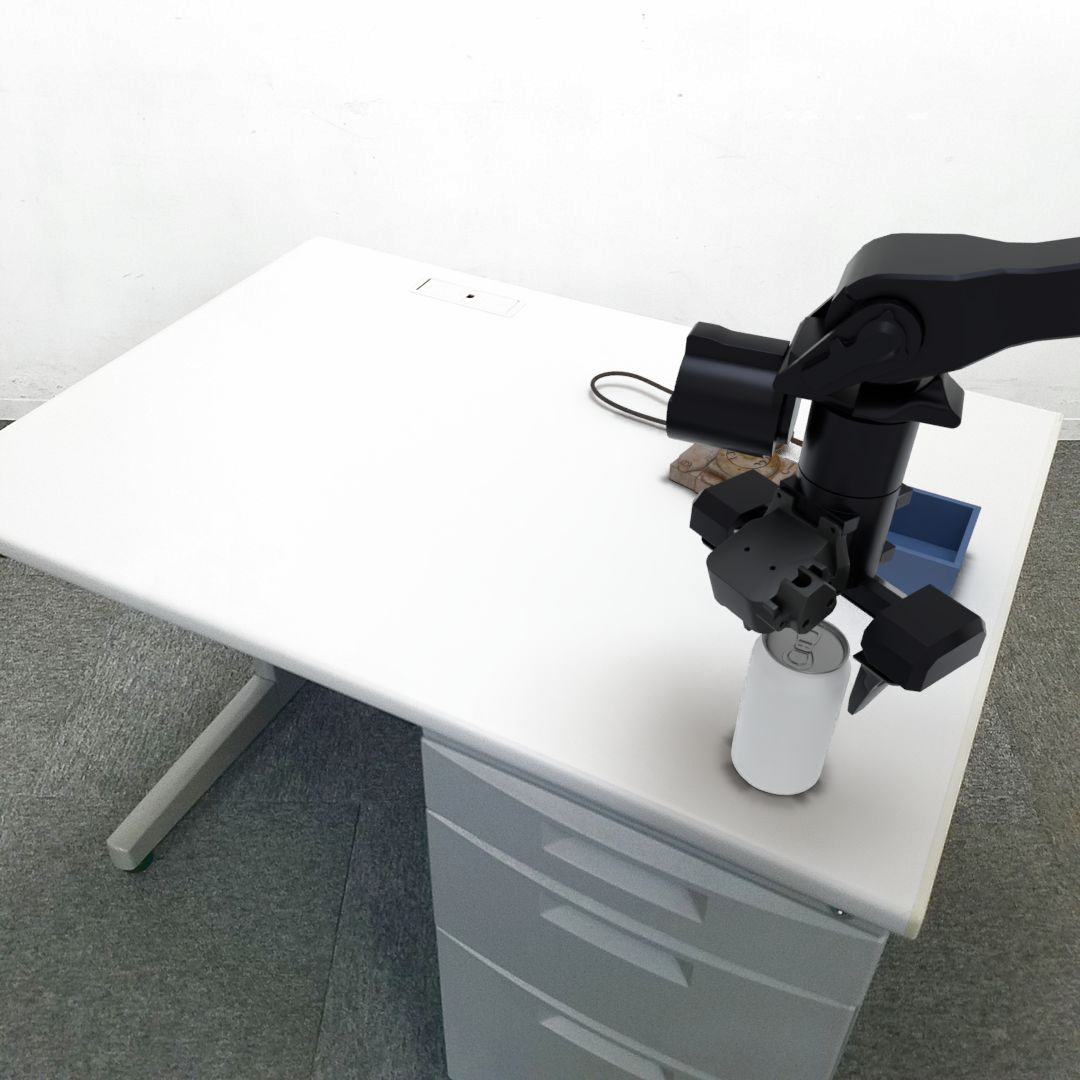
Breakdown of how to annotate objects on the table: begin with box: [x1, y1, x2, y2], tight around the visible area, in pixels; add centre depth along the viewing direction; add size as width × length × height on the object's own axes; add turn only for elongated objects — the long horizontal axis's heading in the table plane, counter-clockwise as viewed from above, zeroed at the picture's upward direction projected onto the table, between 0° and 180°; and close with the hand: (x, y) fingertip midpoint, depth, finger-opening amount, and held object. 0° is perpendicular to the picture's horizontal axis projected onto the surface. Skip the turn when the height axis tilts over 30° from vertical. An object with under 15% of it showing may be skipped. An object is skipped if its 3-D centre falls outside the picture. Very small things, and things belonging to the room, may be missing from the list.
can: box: [730, 619, 852, 796], centre depth 66 cm, size 6×6×12 cm
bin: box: [876, 485, 982, 597], centre depth 86 cm, size 10×10×6 cm
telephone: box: [589, 370, 803, 494], centre depth 102 cm, size 15×33×4 cm, turn 49°
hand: (800, 667), depth 64 cm, fingers open, 9 cm apart
